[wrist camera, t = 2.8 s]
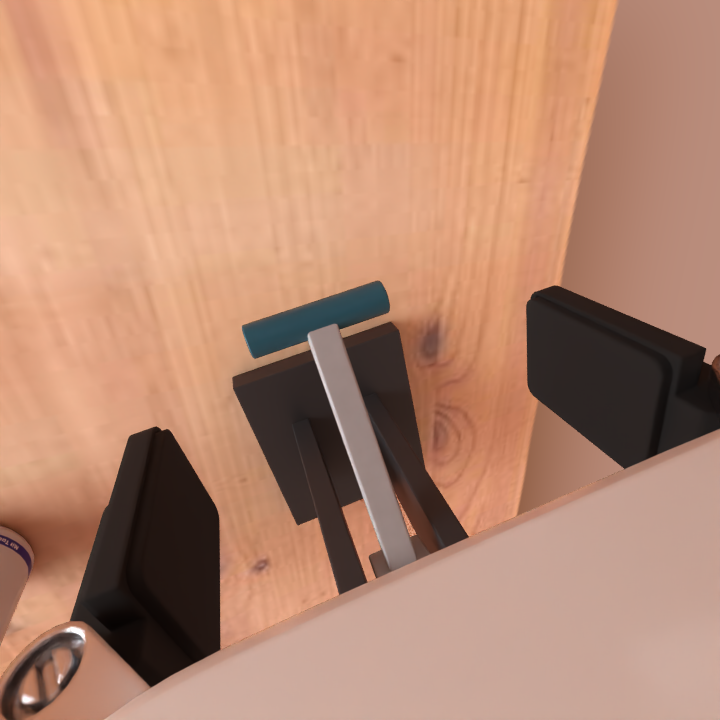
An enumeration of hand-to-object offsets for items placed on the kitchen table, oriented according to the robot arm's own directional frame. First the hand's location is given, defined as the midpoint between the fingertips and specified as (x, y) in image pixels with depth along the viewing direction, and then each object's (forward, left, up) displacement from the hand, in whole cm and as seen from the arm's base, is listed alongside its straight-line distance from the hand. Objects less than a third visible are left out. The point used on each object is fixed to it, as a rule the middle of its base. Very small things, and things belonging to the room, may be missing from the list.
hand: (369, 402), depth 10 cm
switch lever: (+5, +1, -4) cm, 7 cm away
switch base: (+10, +1, -12) cm, 15 cm away
